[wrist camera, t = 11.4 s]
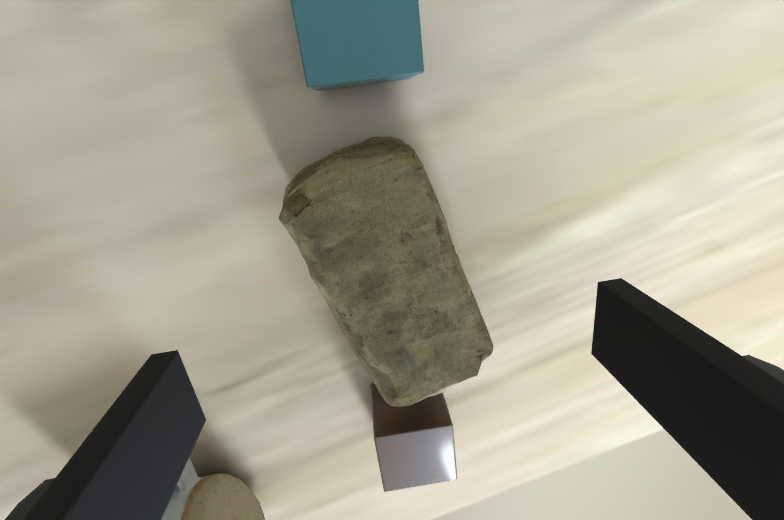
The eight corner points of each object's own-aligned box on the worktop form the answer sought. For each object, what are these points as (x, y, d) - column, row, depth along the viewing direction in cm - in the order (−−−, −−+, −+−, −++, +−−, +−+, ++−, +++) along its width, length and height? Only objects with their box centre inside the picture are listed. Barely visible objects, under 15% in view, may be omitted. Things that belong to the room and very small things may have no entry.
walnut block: (379, 433, 24) (384, 492, 21) (370, 383, 23) (373, 437, 19) (441, 423, 25) (457, 480, 21) (437, 372, 23) (452, 424, 19)
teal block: (317, 90, 17) (307, 87, 13) (297, -21, 15) (279, -59, 12) (408, 78, 17) (424, 71, 13) (398, -33, 15) (412, -75, 12)
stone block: (385, 357, 22) (392, 424, 18) (281, 175, 18) (255, 200, 13) (478, 317, 22) (511, 374, 17) (394, 120, 18) (408, 126, 13)
